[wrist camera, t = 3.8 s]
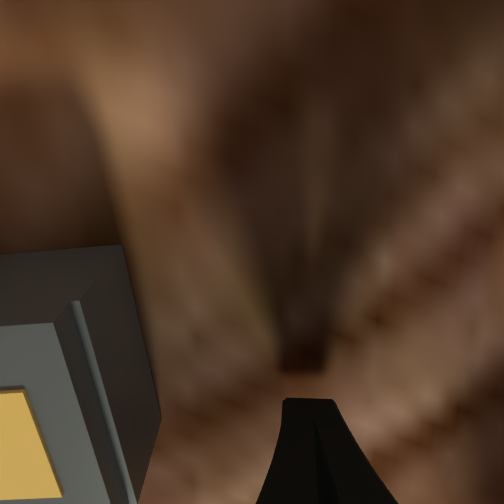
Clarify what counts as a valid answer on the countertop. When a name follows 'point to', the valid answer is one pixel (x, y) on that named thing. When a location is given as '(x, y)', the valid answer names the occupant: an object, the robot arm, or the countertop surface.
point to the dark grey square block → (73, 380)
